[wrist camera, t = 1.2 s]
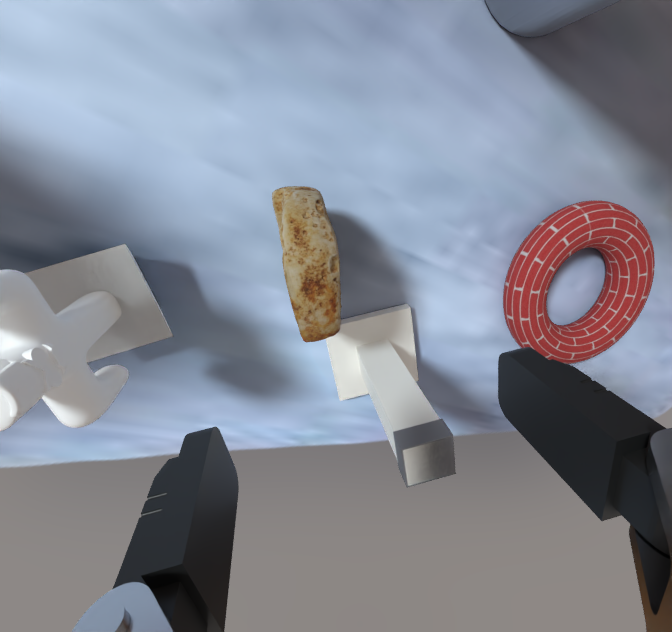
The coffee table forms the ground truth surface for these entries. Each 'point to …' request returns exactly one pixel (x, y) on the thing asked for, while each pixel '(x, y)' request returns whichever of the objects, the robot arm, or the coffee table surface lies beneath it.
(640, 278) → the torus
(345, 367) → the post
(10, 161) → the coffee table surface
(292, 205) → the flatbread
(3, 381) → the figurine
